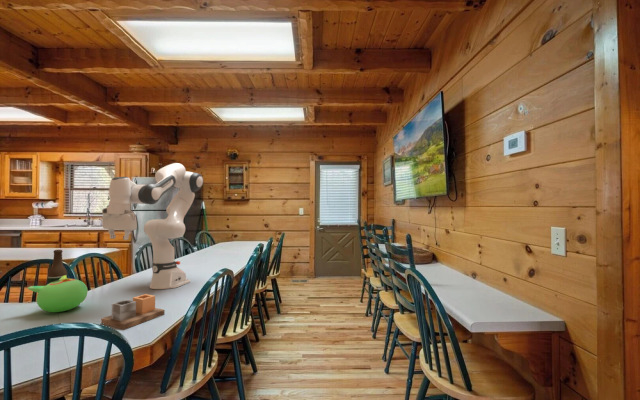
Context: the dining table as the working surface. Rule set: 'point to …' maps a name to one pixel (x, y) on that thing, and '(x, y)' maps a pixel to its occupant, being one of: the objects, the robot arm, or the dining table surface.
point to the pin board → (128, 315)
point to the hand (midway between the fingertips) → (119, 239)
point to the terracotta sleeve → (144, 303)
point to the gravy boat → (60, 294)
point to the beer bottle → (56, 267)
